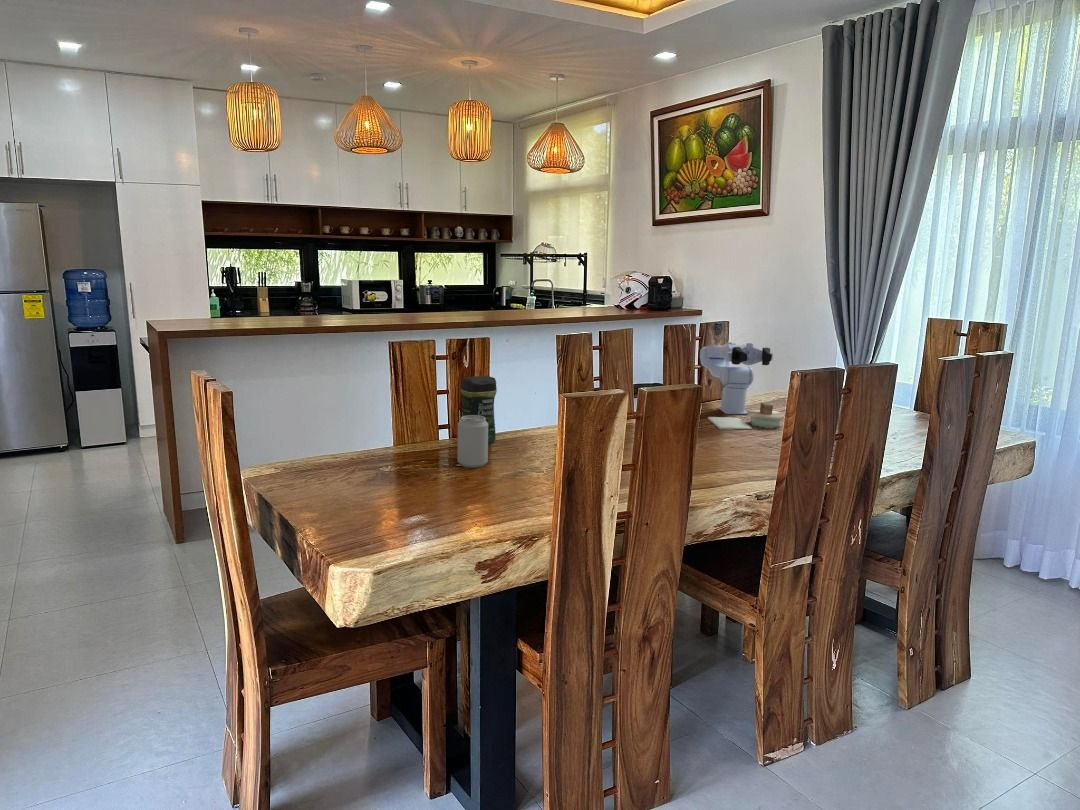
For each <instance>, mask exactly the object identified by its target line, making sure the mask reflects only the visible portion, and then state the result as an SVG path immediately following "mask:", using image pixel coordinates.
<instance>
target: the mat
mask: <svg viewBox="0 0 1080 810" xmlns="http://www.w3.org/2000/svg"><path fill="white" fill-rule="evenodd" d="M707 420H708V421H709V422H711V423H712V424H713V425H714V426H715V427H717V429H719V430H735V429H752V430H753V427H751V425H749V424H747V423H746V422H745V421H743V420H742V419H741V418H739V417H735V416H733V417H730V416H729V417H728V416H727V417H725V416H723V417H722V416H720V417H719V416H718V417H717V416H707Z"/></svg>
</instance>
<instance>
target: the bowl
mask: <svg viewBox="0 0 1080 810" xmlns="http://www.w3.org/2000/svg"><path fill="white" fill-rule="evenodd" d="M749 424H750V425H751V424H752V425H751V426H753V425H754V426H753V427H756V426H759V427H758V428H761V427H778V426H779V427H780V426H781V425H780V424H781V419H777V420H769V419H759V418H754V417H751V416H750V422H749ZM779 427H778V428H779Z"/></svg>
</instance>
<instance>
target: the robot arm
mask: <svg viewBox="0 0 1080 810" xmlns="http://www.w3.org/2000/svg"><path fill="white" fill-rule="evenodd" d="M773 355H774V353H772V352H771V348H770V347H762V350H761V349H759V348H756V347H754V344H753V343H752V342H750V343H749V342H747V343H745V344H737V343H734V342H729V341H727V342H726V343H725V344H723V345H706V346H702V348H700V350H699V359H700V364H701V366H702V367H704V368H706V369H707V370H708V372H709V373H710V374H711V376H712V377H715V378H717V379H719V382H721V384H722V385H723V386H724V387H723V388H722V391H721V402H720V404H721V405H720V406H718V407H717V408H718V409H719V410H720V411H721V412H723V414H725V415H748V410H746V403H747V391H748V388H749V387H750V386H751V385H752V384H753V382H754V376H755V375H754V371H753V368H752V367H751V366H752V365H755V364H758V363H761V362H762V363H761V366H770V363H771V361H773V358H774V357H773ZM730 363H731V364H732V365H741V364H743V365H746V366H747V367H746V366H745V367H742V366H730Z"/></svg>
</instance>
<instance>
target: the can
mask: <svg viewBox="0 0 1080 810" xmlns="http://www.w3.org/2000/svg"><path fill="white" fill-rule="evenodd" d="M485 420H486V418H485V417H483V416H478V415H467V416H462V415H461V417H460V418H459V421H458V422H457V463H458V464H460V465H461V466H462V467H465V468H469V469H470V468H472V469H473V468H481V467H483V466H485V465H486V464H487V463H488V460H489V457H488V456H489V444H488V423H487V422H486V421H485Z"/></svg>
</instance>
